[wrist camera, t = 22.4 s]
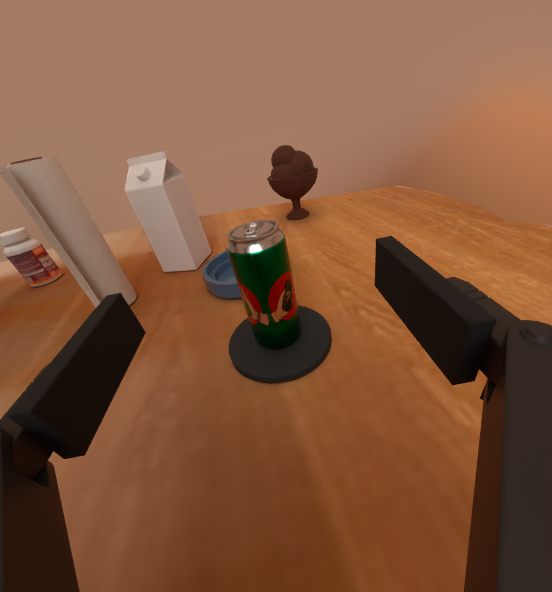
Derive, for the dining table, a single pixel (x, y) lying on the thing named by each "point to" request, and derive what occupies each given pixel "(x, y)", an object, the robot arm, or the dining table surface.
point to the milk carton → (166, 212)
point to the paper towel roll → (68, 226)
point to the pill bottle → (29, 257)
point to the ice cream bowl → (292, 177)
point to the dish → (221, 277)
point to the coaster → (281, 351)
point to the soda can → (265, 282)
